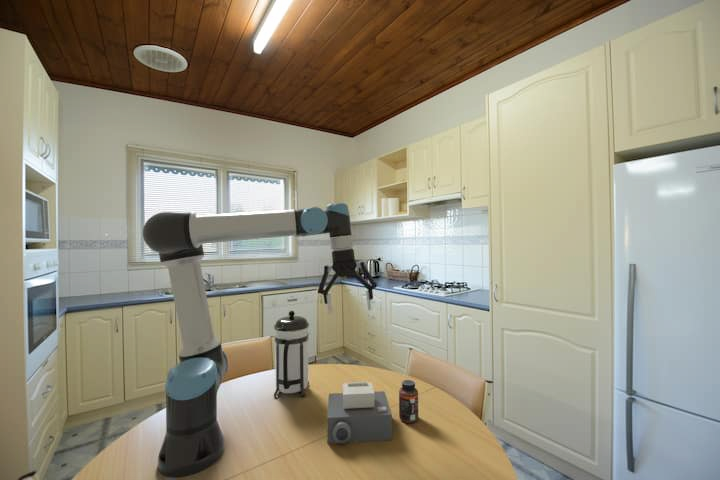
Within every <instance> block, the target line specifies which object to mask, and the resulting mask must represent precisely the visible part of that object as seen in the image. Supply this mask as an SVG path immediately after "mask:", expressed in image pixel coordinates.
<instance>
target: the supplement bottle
mask: <svg viewBox="0 0 720 480" xmlns="http://www.w3.org/2000/svg"><path fill="white" fill-rule="evenodd" d="M398 407H399V408H398V409H399V410H398V414H399V420H400V421H402V422H403V423H406V424H413V423H416V422H418V420H419V391H418V389H417V387H416V383H415V381H414V380H411V379H405V380H403V381H402V382H401V387H400V388H399V391H398Z"/></svg>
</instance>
